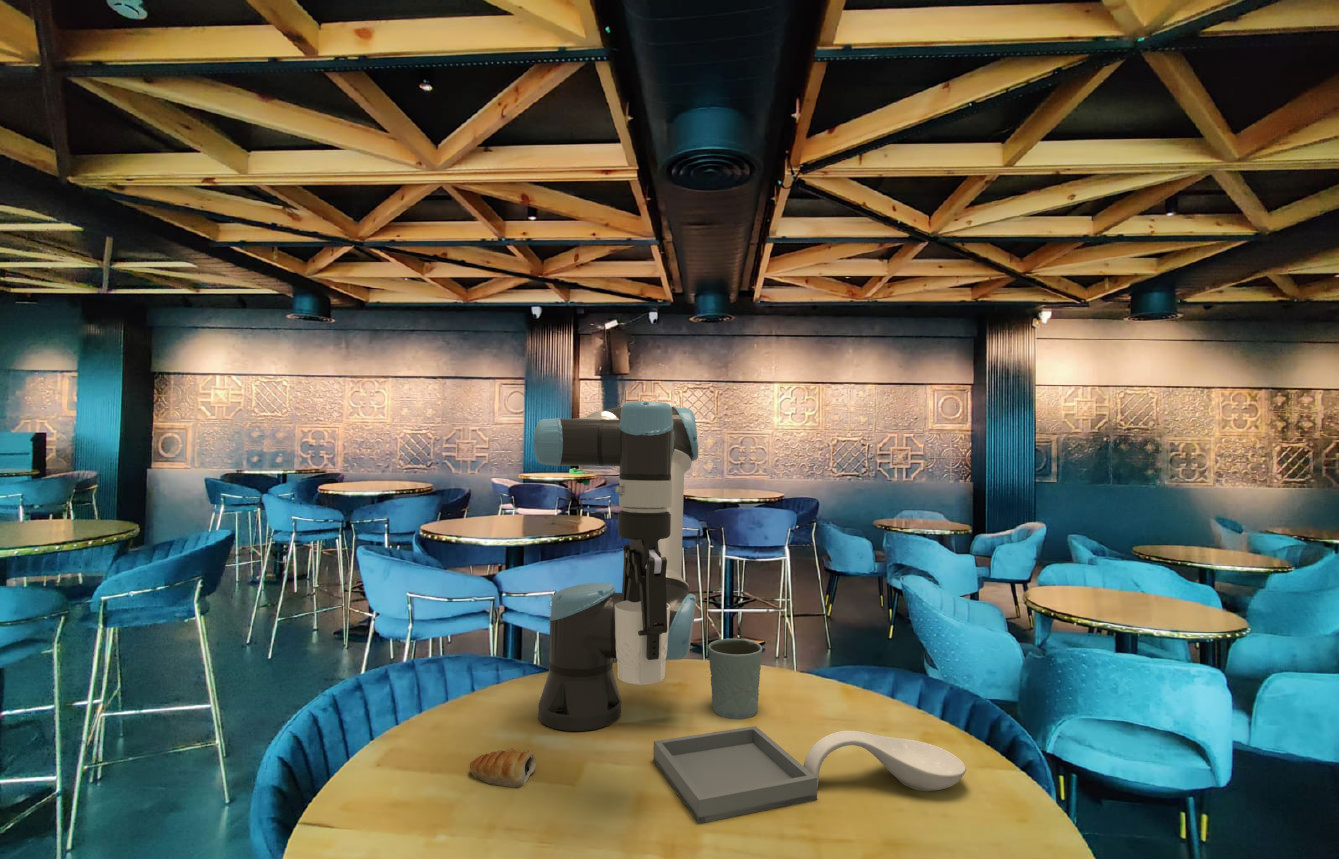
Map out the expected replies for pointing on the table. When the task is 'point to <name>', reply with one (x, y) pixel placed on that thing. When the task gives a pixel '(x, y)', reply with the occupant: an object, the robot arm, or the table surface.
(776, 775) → the tray
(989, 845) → the table surface
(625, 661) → the white cup
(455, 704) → the table surface
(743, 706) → the grey-green cup
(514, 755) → the pastry
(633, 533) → the robot arm
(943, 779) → the spoon rest
